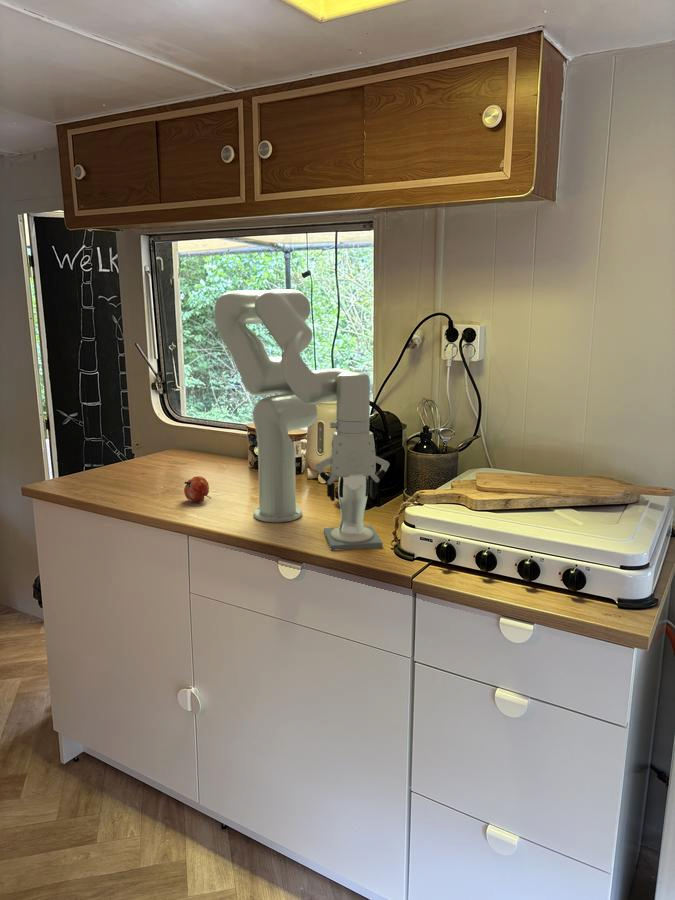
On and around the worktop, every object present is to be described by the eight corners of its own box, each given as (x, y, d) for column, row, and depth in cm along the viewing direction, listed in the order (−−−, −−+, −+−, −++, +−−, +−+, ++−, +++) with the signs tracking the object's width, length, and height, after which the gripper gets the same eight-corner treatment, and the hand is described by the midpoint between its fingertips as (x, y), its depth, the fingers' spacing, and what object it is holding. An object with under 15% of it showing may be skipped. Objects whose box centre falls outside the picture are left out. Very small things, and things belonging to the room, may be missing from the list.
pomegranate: (200, 503, 201) (172, 487, 196) (215, 482, 201) (187, 466, 196) (208, 513, 195) (179, 497, 190) (223, 492, 195) (195, 475, 190)
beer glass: (365, 527, 170) (367, 467, 166) (367, 537, 163) (370, 475, 160) (336, 526, 169) (338, 466, 166) (337, 537, 163) (339, 474, 159)
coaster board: (323, 532, 171) (323, 525, 171) (371, 530, 173) (371, 523, 173) (330, 550, 160) (330, 543, 159) (382, 547, 162) (382, 540, 161)
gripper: (317, 431, 155) (317, 505, 159) (393, 428, 158) (392, 501, 162) (313, 424, 162) (313, 495, 166) (386, 422, 165) (384, 492, 169)
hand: (352, 498), depth 164 cm, fingers open, 9 cm apart
